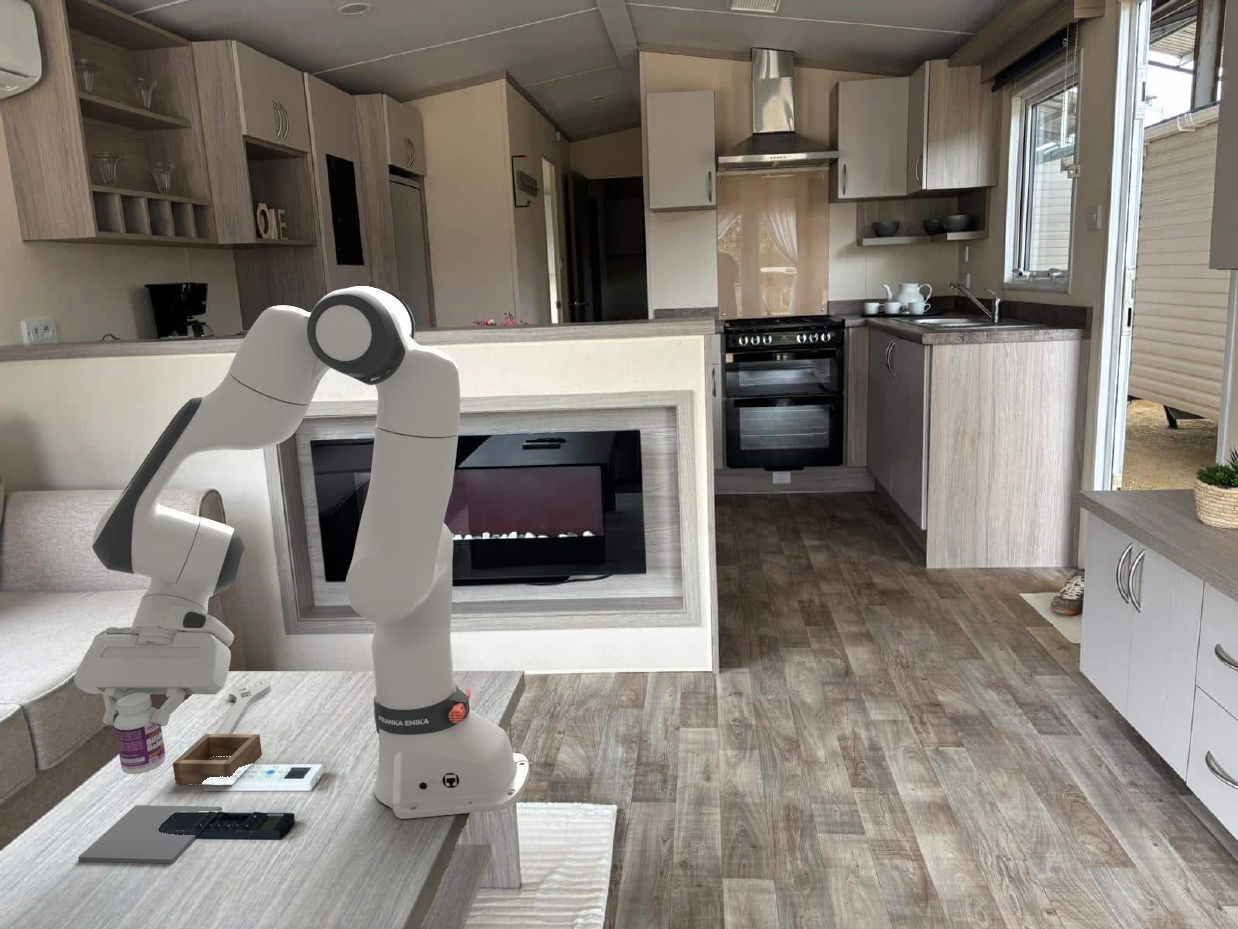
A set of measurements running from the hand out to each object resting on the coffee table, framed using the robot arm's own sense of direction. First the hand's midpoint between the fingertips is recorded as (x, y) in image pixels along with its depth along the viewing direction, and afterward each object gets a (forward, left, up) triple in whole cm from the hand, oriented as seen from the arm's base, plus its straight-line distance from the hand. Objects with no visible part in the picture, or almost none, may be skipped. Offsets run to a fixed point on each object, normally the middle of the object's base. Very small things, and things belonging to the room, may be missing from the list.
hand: (134, 724), depth 120 cm
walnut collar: (0, -17, -16) cm, 24 cm away
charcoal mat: (0, 0, -16) cm, 16 cm away
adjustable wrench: (+7, -35, -17) cm, 39 cm away
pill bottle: (0, -1, -6) cm, 6 cm away
